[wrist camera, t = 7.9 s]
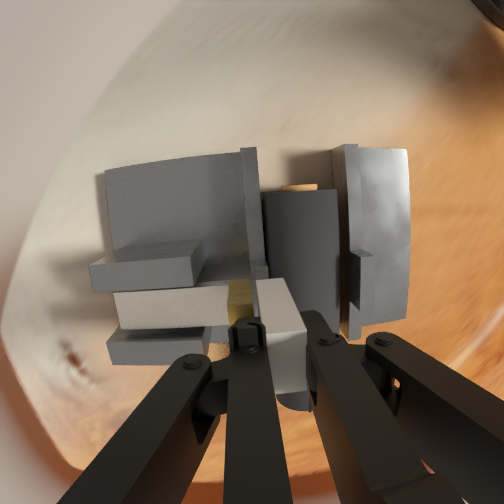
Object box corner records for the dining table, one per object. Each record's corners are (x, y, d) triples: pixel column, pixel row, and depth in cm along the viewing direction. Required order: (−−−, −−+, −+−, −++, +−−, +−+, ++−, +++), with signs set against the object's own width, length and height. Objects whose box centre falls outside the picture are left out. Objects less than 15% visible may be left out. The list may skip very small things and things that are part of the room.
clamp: (110, 171, 22) (62, 165, 14) (399, 150, 22) (452, 140, 15) (136, 339, 24) (106, 387, 17) (399, 313, 25) (443, 349, 18)
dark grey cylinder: (262, 187, 23) (261, 187, 18) (328, 183, 23) (344, 182, 18) (275, 381, 26) (276, 417, 21) (330, 376, 26) (341, 410, 21)
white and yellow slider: (118, 287, 18) (90, 312, 14) (249, 278, 18) (253, 303, 14) (126, 323, 18) (102, 354, 14) (253, 315, 19) (256, 348, 15)
